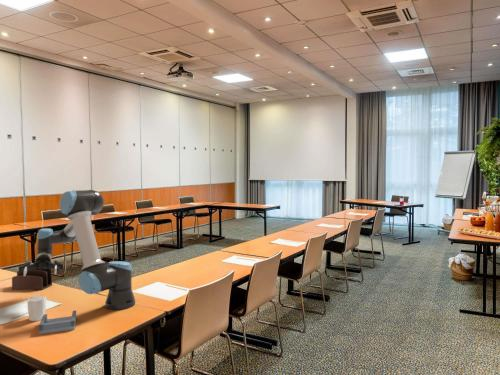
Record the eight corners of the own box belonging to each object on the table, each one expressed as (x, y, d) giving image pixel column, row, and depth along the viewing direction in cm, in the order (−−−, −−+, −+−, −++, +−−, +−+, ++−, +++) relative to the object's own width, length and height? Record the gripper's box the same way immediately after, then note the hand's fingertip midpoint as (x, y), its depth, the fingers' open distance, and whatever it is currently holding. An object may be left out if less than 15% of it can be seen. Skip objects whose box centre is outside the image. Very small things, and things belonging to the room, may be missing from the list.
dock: (43, 322, 180) (43, 314, 179) (76, 318, 185) (76, 310, 184) (39, 334, 166) (39, 325, 166) (74, 329, 172) (74, 320, 171)
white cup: (29, 317, 187) (28, 296, 187) (47, 314, 190) (47, 295, 189) (26, 322, 180) (25, 301, 179) (45, 320, 182) (44, 299, 182)
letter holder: (22, 285, 242) (22, 263, 242) (52, 285, 241) (52, 263, 240) (11, 289, 232) (11, 266, 232) (42, 290, 231) (42, 267, 230)
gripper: (68, 266, 216) (67, 278, 197) (16, 268, 205) (10, 281, 186) (68, 253, 215) (67, 263, 196) (17, 255, 205) (11, 266, 186)
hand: (40, 272), depth 191 cm, fingers open, 13 cm apart
